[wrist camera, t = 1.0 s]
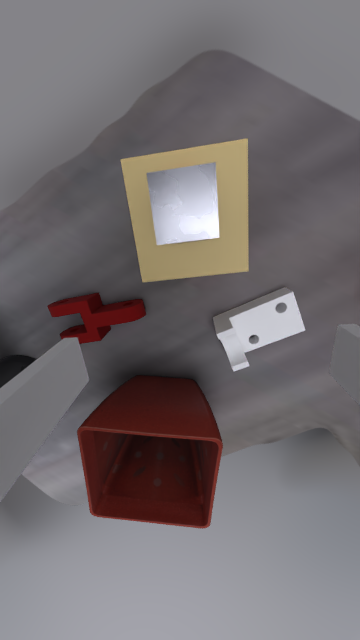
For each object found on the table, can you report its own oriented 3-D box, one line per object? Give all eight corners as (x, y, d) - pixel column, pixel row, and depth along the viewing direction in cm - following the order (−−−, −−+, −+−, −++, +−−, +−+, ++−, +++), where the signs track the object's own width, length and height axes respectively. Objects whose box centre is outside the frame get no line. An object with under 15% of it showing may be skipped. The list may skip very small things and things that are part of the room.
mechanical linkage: (72, 335, 43) (58, 347, 38) (58, 300, 40) (40, 308, 36) (151, 321, 41) (146, 333, 36) (141, 284, 38) (134, 291, 33)
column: (177, 240, 35) (155, 246, 16) (173, 207, 33) (144, 171, 14) (206, 236, 34) (220, 239, 15) (203, 203, 33) (217, 159, 14)
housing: (152, 272, 37) (139, 285, 28) (137, 176, 32) (115, 154, 23) (237, 263, 36) (251, 273, 27) (234, 161, 31) (251, 131, 22)
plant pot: (117, 358, 44) (74, 427, 28) (213, 365, 43) (224, 440, 27) (122, 429, 51) (90, 517, 35) (204, 437, 50) (209, 529, 34)
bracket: (227, 348, 42) (233, 371, 35) (212, 316, 40) (216, 334, 33) (295, 322, 39) (318, 341, 32) (284, 286, 37) (305, 298, 30)
